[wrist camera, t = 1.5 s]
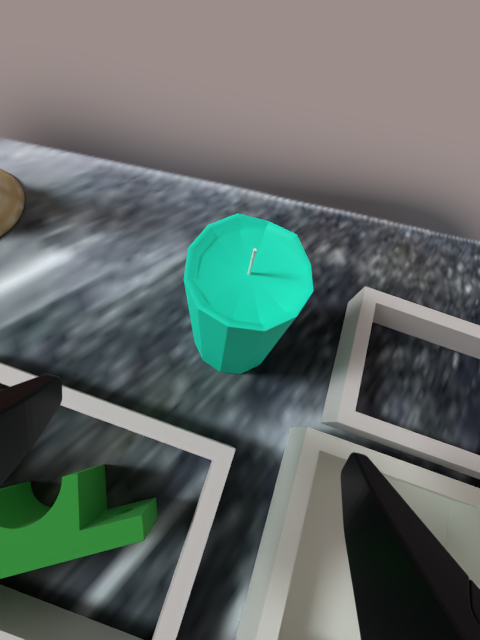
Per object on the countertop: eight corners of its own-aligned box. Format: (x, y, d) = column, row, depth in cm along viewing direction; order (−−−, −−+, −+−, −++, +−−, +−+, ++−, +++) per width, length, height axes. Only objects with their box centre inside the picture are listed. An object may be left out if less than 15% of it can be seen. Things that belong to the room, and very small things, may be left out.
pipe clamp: (151, 453, 21) (137, 459, 16) (158, 516, 19) (145, 540, 15) (-35, 495, 19) (-107, 515, 14) (-40, 567, 18) (-120, 612, 13)
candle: (258, 386, 22) (306, 342, 11) (181, 358, 23) (154, 287, 11) (281, 314, 25) (341, 217, 13) (210, 289, 25) (211, 172, 13)
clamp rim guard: (160, 671, 17) (150, 720, 14) (-157, 549, 17) (-227, 572, 14) (232, 446, 21) (235, 449, 18) (-25, 353, 21) (-60, 341, 19)
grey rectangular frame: (564, 509, 22) (618, 522, 19) (320, 422, 22) (337, 421, 19) (558, 375, 25) (603, 368, 22) (348, 302, 25) (365, 286, 23)
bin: (437, 714, 17) (500, 794, 13) (235, 637, 18) (242, 694, 14) (453, 485, 21) (505, 497, 18) (290, 427, 22) (307, 426, 18)
